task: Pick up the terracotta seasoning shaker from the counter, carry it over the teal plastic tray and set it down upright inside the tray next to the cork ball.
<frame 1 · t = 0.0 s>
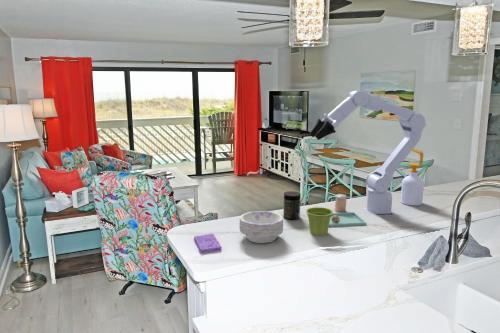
hand: (313, 136, 153), 32 cm above the countertop, tool tilted 50°, fingers open, 7 cm apart
plant pot: (318, 234, 140), on the countertop
sponges: (207, 246, 131), on the countertop
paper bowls: (261, 238, 136), on the countertop
ball: (335, 223, 148), point 1 cm above the countertop, touching tray
supplement container: (291, 219, 155), on the countertop
shaker: (340, 212, 163), on the countertop
tray: (340, 221, 152), on the countertop
soap bottle: (411, 203, 175), on the countertop
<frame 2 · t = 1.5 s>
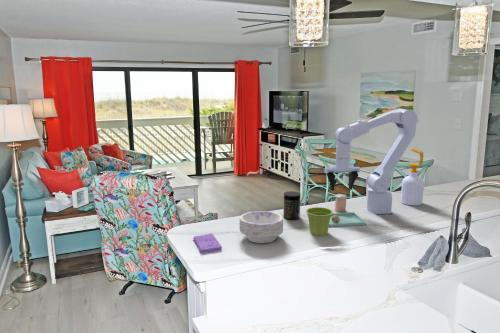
hand: (341, 189, 161), 10 cm above the countertop, tool pointing down, fingers open, 7 cm apart
nothing on the countertop moved.
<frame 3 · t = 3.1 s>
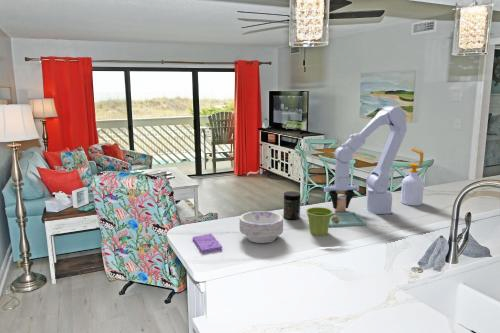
hand: (340, 207, 162), 2 cm above the countertop, tool pointing down, fingers closed on shaker, 4 cm apart
shaker: (340, 212, 163), on the countertop, touching gripper
everything else where it was.
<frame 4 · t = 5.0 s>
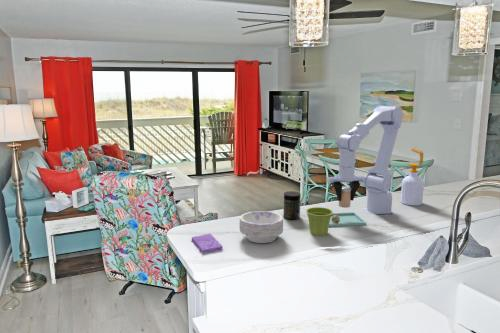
hand: (345, 200, 151), 8 cm above the countertop, tool pointing down, fingers closed on shaker, 4 cm apart
shaker: (344, 205, 152), point 6 cm above the countertop, touching gripper
everything else where it was.
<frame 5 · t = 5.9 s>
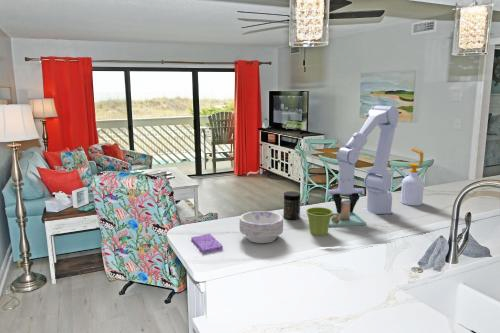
hand: (344, 212, 152), 3 cm above the countertop, tool pointing down, fingers closed on shaker, 4 cm apart
shaker: (343, 217, 153), point 1 cm above the countertop, touching gripper
everything else where it was.
when the fingers open (3 cm above the countertop, at t = 6.7 s): shaker stays where it is, resting on tray.
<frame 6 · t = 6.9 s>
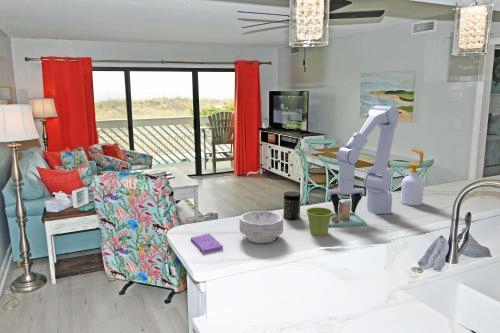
hand: (344, 212, 152), 3 cm above the countertop, tool pointing down, fingers open, 6 cm apart
shaker: (343, 218, 153), point 1 cm above the countertop, touching tray
everything else where it was.
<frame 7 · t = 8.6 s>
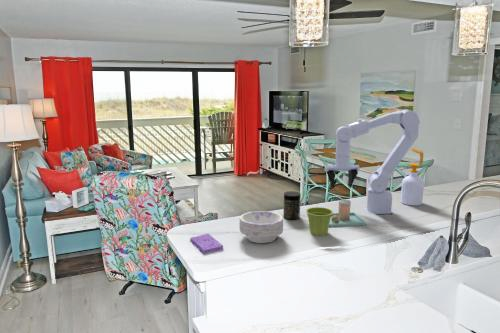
hand: (341, 187, 164), 10 cm above the countertop, tool pointing down, fingers open, 7 cm apart
nothing on the countertop moved.
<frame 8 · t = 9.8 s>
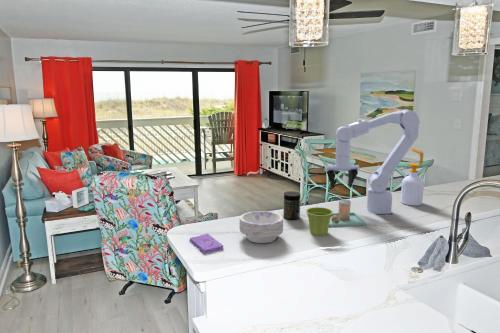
hand: (341, 187, 164), 10 cm above the countertop, tool pointing down, fingers open, 7 cm apart
nothing on the countertop moved.
at the end: shaker inside the target area on the tray (2.5 cm from its centre), point 0.6 cm above the tray's base; shaker tilted 0°; the gripper is holding nothing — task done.
